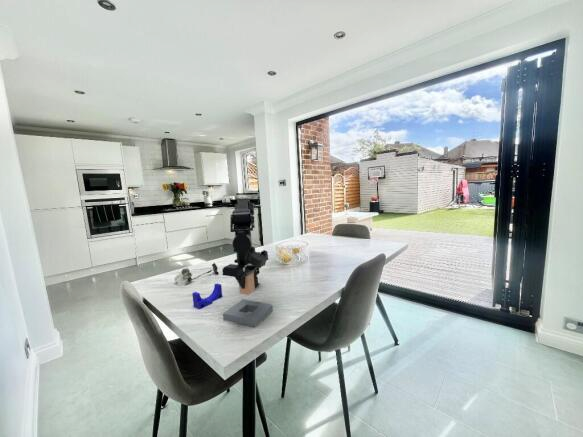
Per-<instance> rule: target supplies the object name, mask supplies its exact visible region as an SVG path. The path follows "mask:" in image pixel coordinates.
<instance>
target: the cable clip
mask: <svg viewBox="0 0 583 437" xmlns="http://www.w3.org/2000/svg"><path fill="white" fill-rule="evenodd" d="M213 286H214V287H213V290H212V292H211V294H210V295H208V296H207V297H205V298H204V297H203V298H202V297H201V294H200V292H197V291H194V292H192V294H191V295H192V305H193V307H194V308H196V309H197V310H202V309H204V308H206V307H208V306H210V305H212V304H213V302H214V301H217V300H219V299H221V298H223V288H222V284H220V283H218V282H217V283H214V285H213Z"/></svg>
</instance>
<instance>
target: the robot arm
mask: <svg viewBox="0 0 583 437" xmlns="http://www.w3.org/2000/svg"><path fill="white" fill-rule="evenodd" d="M236 200H237V202H236V203H235V204H234V210H233V211H232V212H231V214H230V215H229V216H230V221H229V222H230V225H229V227H230V228H229V229H230V233H234V237H233V239H232V248H233V252H234V253H236V254H235V255H236V259H234V263H229V264H228V265H226V266H224V267H223V268H222V276H225V277H226V276H227V277H232V278H233V277H234V279H235V280H236V281H237V283H238V286H239V285H240V286H241V288H242V289H244V288H245V275H246V274H247V272H248V271H245V269H249V270H253V271H254V286H255V288H256V287H258V286H259V285H260V283H259V276H258V275H259V274H260V273H261V272H260V269H262V267H264V266H266V264H267V261H268V260H269V254H268V251H267V250H265V249H264V250H261V251H258V252H257V251H256V247H255V246H252V245H253V244H252V232H253V231H254V229H255V226H256V225H255V216H254V215H255V206H254V203H252V201H250V199H249V198H248V197H247V198H238V199H236Z"/></svg>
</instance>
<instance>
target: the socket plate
mask: <svg viewBox="0 0 583 437" xmlns="http://www.w3.org/2000/svg"><path fill="white" fill-rule="evenodd" d="M273 308H274V307H273V304H271V303H266V302H260V301H255V300H250V299H244V298H243V299H241V300H239V301H237V303H235V304H234V305H232V306H231V307H230V308H229V309H227V310H226V311H224V312H223V313H222V317H223V321H226V320H227V322H230V321H232V322H231V323H234V322H236V324H239V323H240V324H239V325H243V324H244V325H243V326H247V325H248V326H247V327H251V326H253V327H252V328H255V327H256V326H257V325H258V324H259V323H260V322H261V321H262V322H263V321H264V320H265V319H266V318H267V317H268V316H270V314H271V313H273ZM247 310H248V311H247ZM252 311H253V312H252ZM244 312H245V313H244ZM248 312H251V313H248ZM262 322H261V323H262ZM261 323H260V324H261ZM260 324H259V325H260ZM259 325H258V326H259ZM258 326H257V327H258ZM257 327H256V328H257Z"/></svg>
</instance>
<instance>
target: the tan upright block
mask: <svg viewBox="0 0 583 437" xmlns="http://www.w3.org/2000/svg"><path fill="white" fill-rule="evenodd" d="M245 271H248V272H247V274H246V275H245V288H244V289H242V288H241V286H240V285H239V284H238V288H239V294H240V295H247V296H249V295H251V294H252V293H254V292H255V291H256V289H255V288H256V287H255V286H254V271H253V270H249V269H245Z"/></svg>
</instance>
